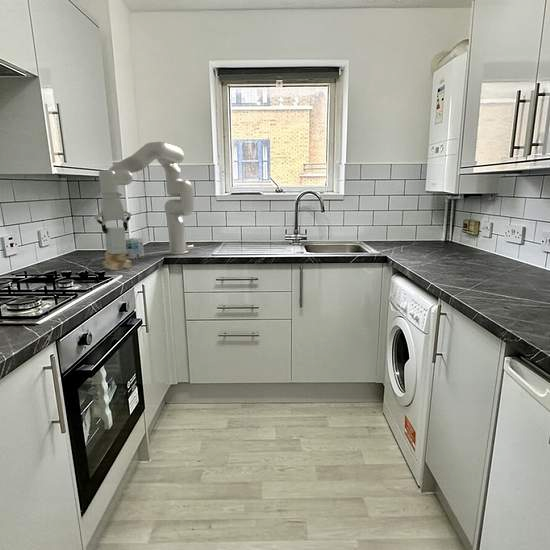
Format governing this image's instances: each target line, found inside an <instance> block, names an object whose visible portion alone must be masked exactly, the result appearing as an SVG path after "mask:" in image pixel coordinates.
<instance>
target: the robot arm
mask: <svg viewBox="0 0 550 550" xmlns="http://www.w3.org/2000/svg"><path fill="white" fill-rule="evenodd" d="M184 157H185V155H184V151H183V150H182V149H181V148H180V147H179V146H175V145H173V144H170V143H168V142H165V141H154V142H153V141H152V142H148V143H145V144H144V145H143V146H142V147H140V148H139V149H138V150H137V151H135V153H133V154H132V155H130V156H128V157H125V158H124V159H122V160H120V161H118V162H116V163H115V164H113V165H112V166H111V167H110V168H109V169H106V170H105V169H103V170H100V171H98V179H99V186H100V192H101V198H102V199H101V200H100V212H98V214H96V215H94V217H93V218H94V219H95V221H96V222H97V223H98V224H100V225H101V231H102V232H103V233H104V234H105V233H107V230H106V228H107V225H106V223H107V222H111V221H122V222H123V223H122V225H123V226H122V228H125V232H128V229H129V228H128V223H129V221H130V219H131V218H132V217H131V216H132V213H131V212H129V211H126V210H124V206H123V201H122V199H121V198H120V197H122V196H123V194H122V193H121V192H119V187H118V186H127V185H130V184H131V183H132V182H133V180H134V175H133V174H132V173H136V172H140V171H143V170H144V169H146V168H147V167H148V166H149V165H150V164H151V163H153V161H155V160H157V162H158V163H159V164H160V165H161V167H162V168H163V169H164V172H165V185H166V187H165V188H166V194H167V195H168V196H169V197H173V198H174V199H169V200H167V201H166V202H165V203H164V212H165V215H166V218H167V219H166V221H167V230H168V240H169V243H168V244H169V250H168V251H167V254H169V255H184V254H188V253H189V252H190V249H194V248H195V247H194V244H191V245H190V244H189V245H188V244H187V240H186V228H185V221H184V219H183V217H189V216H191V215H193V212H194V208H195V206H194V205H195V204H194V203H195V201H194V198H195V197H194V188H193V187H194V186H193V184H192V183H191V182H190V181H189V180H187V179H182V173H181V172H182V171H181V168H180V166H179V165H178V164H181V163H182V162H183V160H184V159H185V158H184ZM175 198H176V199H175ZM177 198H179V199H177ZM126 215H127V216H126ZM100 217H101V219H102V220H100Z"/></svg>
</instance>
